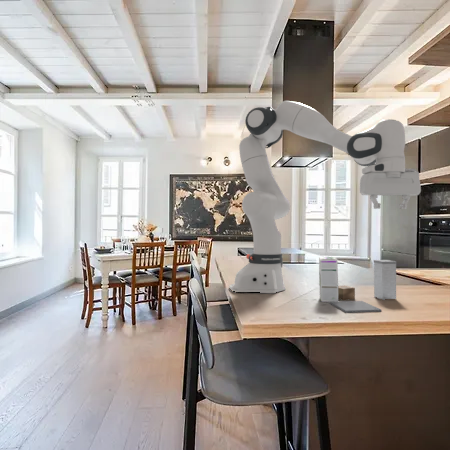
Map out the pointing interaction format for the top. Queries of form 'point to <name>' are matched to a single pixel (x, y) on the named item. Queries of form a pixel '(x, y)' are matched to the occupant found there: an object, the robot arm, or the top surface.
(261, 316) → the top surface
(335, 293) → the syrup box
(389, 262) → the tea tin
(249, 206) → the robot arm
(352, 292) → the walnut block
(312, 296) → the top surface
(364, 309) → the slate coaster
